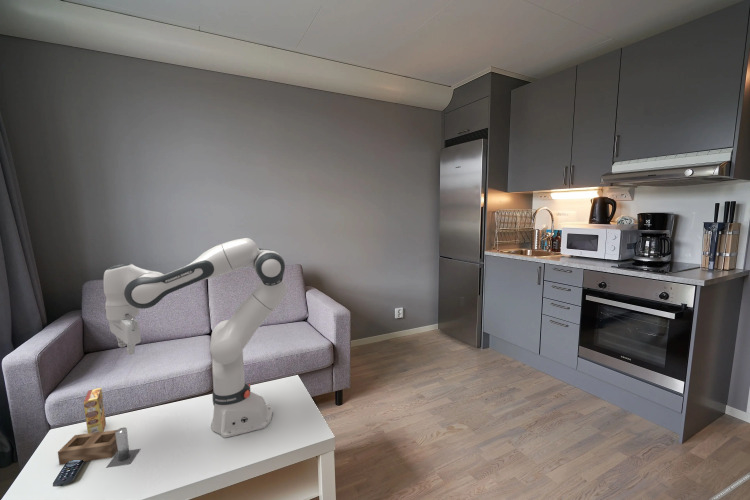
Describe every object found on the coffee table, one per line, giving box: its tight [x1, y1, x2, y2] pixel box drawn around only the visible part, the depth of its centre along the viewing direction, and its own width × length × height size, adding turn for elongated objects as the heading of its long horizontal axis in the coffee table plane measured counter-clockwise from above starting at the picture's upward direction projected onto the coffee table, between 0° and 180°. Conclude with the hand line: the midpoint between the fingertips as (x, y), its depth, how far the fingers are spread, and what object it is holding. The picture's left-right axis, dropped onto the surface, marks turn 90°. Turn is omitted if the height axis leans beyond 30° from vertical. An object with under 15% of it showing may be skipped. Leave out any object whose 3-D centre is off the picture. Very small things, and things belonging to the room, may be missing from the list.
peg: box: [115, 426, 130, 461], centre depth 107 cm, size 3×3×10 cm
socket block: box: [57, 429, 118, 466], centre depth 110 cm, size 15×8×5 cm, turn 102°
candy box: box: [83, 387, 107, 434], centre depth 120 cm, size 9×4×15 cm, turn 33°
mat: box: [105, 448, 141, 469], centre depth 108 cm, size 7×7×1 cm
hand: (126, 350), depth 111 cm, fingers open, 8 cm apart
